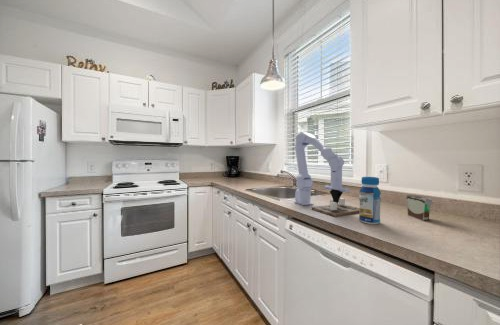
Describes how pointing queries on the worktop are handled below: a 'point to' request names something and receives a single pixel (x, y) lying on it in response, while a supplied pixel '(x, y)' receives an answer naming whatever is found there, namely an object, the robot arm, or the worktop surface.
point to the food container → (418, 207)
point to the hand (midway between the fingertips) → (336, 203)
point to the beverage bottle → (370, 201)
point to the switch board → (340, 210)
